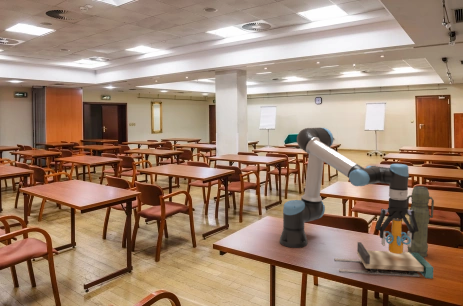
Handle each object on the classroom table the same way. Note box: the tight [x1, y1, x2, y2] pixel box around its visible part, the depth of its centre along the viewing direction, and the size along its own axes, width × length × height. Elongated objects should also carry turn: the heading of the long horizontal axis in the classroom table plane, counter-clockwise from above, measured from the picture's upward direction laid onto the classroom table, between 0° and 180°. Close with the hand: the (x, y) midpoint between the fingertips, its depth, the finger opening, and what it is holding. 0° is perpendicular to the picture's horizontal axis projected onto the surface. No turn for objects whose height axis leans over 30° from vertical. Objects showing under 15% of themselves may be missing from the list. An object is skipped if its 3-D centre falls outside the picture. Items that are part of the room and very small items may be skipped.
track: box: [334, 253, 435, 279], centre depth 154 cm, size 39×16×5 cm, turn 82°
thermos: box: [406, 185, 435, 259], centre depth 168 cm, size 9×12×35 cm
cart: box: [356, 241, 424, 274], centre depth 154 cm, size 24×16×8 cm, turn 82°
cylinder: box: [384, 219, 411, 254], centre depth 152 cm, size 12×10×15 cm
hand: (396, 245), depth 152 cm, fingers closed on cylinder, 10 cm apart
